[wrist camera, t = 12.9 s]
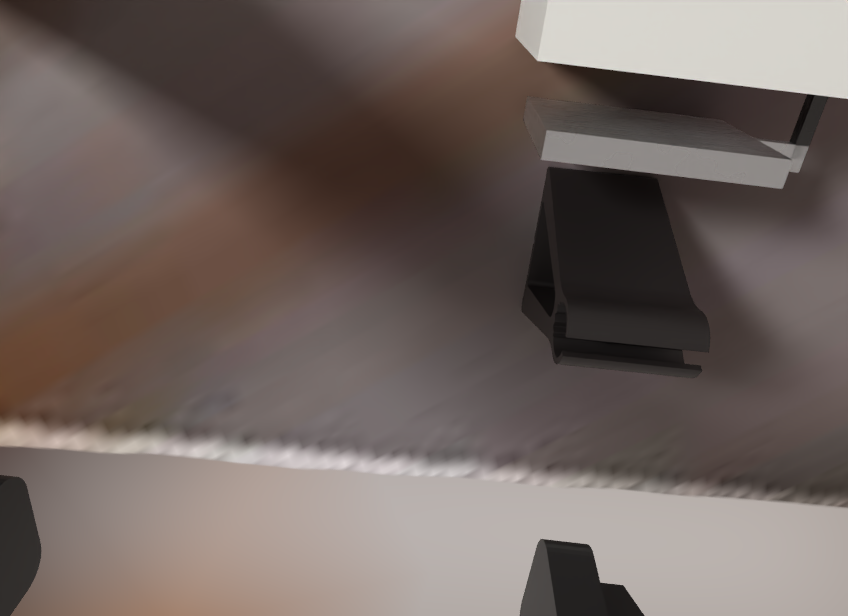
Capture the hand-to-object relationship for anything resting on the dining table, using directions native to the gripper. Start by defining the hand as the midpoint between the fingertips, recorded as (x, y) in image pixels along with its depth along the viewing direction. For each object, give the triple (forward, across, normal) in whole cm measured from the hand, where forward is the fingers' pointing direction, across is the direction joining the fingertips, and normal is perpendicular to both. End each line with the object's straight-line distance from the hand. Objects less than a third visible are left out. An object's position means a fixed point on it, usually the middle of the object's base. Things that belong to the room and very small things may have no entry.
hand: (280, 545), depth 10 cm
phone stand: (+28, -11, +5) cm, 31 cm away
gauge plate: (+27, -12, -6) cm, 30 cm away
